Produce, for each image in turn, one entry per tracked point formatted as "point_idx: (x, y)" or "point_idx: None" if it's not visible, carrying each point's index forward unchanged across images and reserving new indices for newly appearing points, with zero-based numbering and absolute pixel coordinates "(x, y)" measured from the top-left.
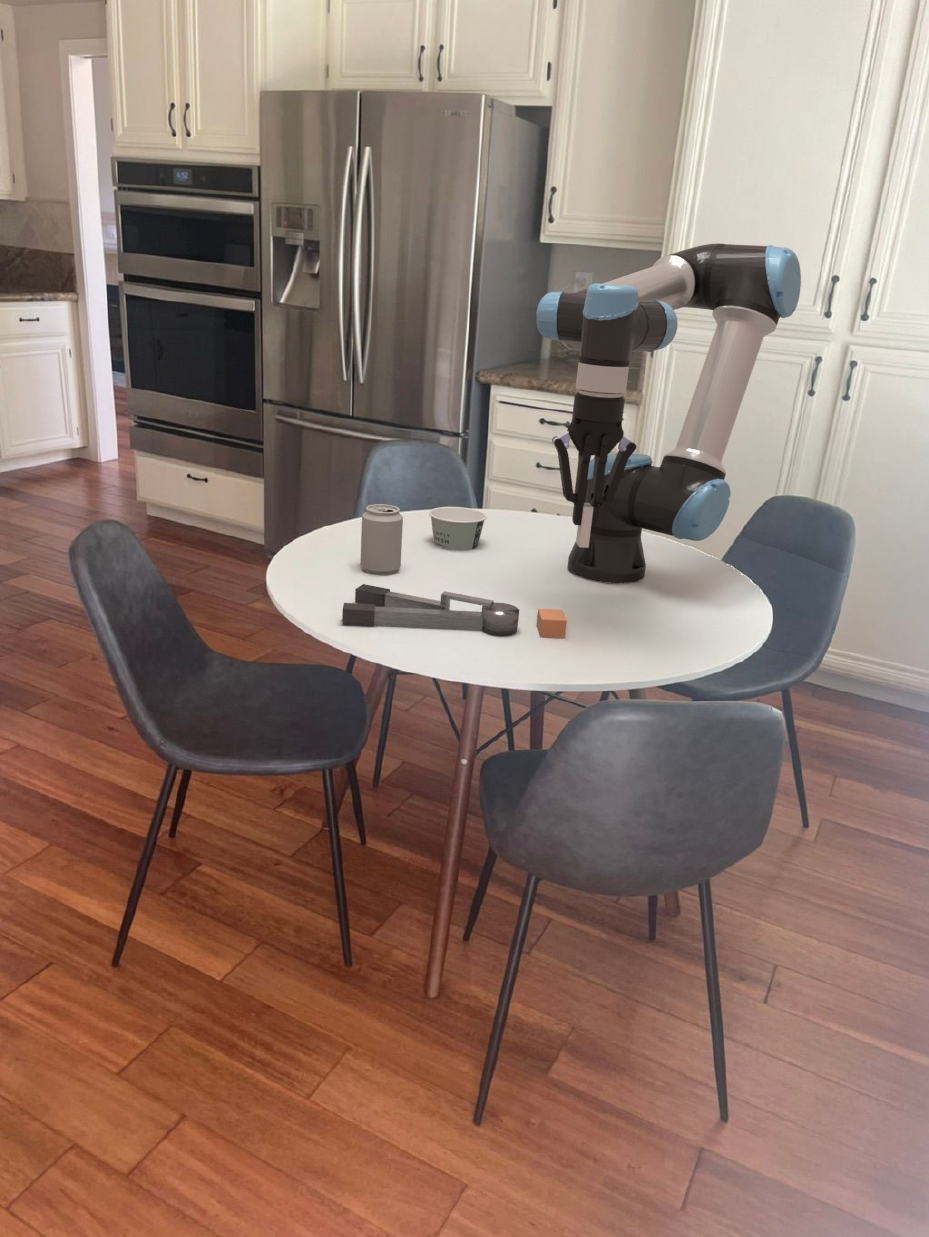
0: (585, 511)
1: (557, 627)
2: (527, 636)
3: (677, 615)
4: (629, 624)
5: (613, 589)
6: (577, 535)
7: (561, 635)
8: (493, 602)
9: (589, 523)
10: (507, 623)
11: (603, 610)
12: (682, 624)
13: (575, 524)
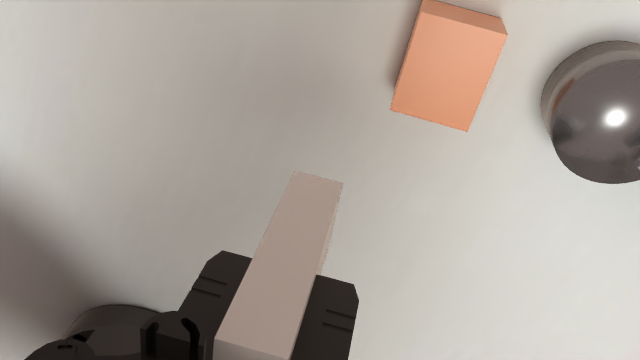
0: (282, 327)
1: (450, 12)
2: (539, 30)
3: (41, 115)
4: (184, 76)
5: (159, 285)
6: (322, 264)
7: (434, 3)
8: (636, 163)
9: (267, 258)
10: (626, 54)
11: (224, 177)
12: (39, 53)
13: (349, 287)
